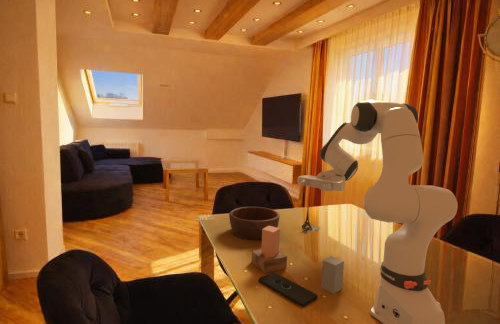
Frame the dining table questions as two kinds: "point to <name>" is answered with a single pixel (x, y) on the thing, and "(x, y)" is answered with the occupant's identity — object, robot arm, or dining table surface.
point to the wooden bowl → (252, 221)
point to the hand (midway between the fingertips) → (312, 185)
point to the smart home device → (288, 289)
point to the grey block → (332, 274)
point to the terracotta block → (270, 241)
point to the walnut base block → (269, 261)
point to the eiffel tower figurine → (306, 224)
